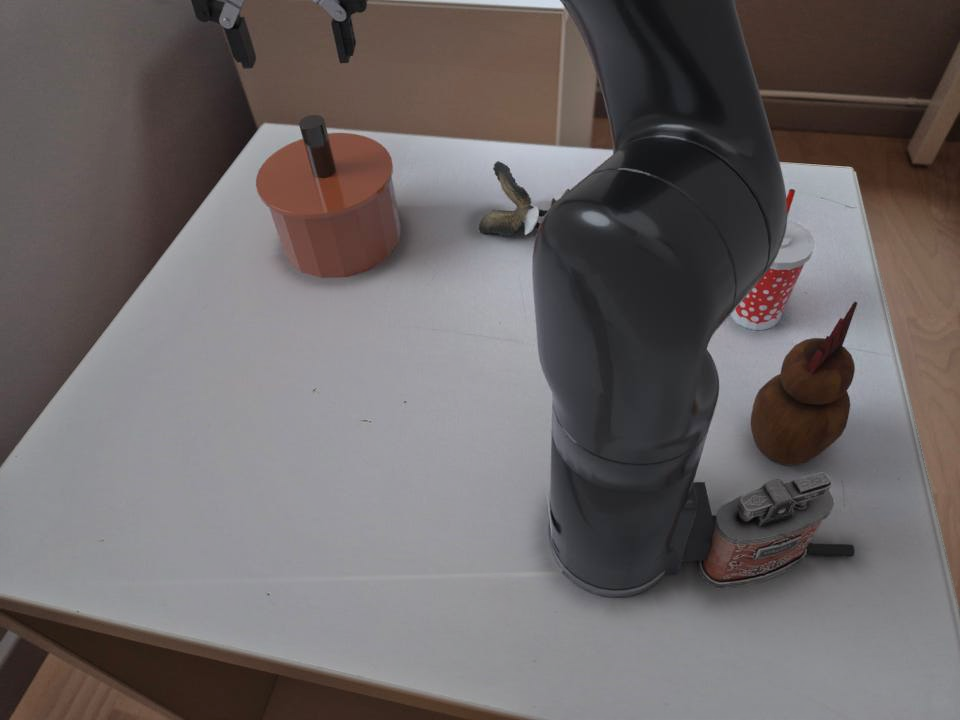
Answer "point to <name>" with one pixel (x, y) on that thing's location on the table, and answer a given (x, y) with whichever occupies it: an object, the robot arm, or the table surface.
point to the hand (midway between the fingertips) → (298, 61)
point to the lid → (323, 173)
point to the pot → (342, 238)
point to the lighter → (766, 531)
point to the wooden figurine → (806, 399)
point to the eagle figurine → (521, 216)
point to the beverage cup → (777, 279)
